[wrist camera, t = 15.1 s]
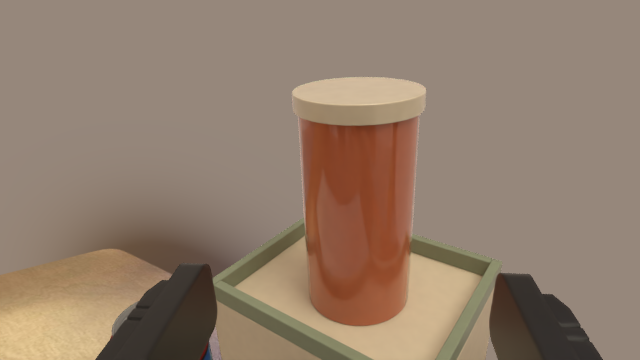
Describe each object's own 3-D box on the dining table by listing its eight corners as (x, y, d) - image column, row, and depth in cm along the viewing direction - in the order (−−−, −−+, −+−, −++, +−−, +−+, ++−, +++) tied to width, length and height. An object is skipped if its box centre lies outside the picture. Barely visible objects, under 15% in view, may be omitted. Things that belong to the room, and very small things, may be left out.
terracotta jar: (430, 283, 22) (448, 83, 18) (375, 348, 18) (380, 112, 14) (345, 248, 25) (343, 73, 21) (282, 298, 21) (263, 94, 17)
